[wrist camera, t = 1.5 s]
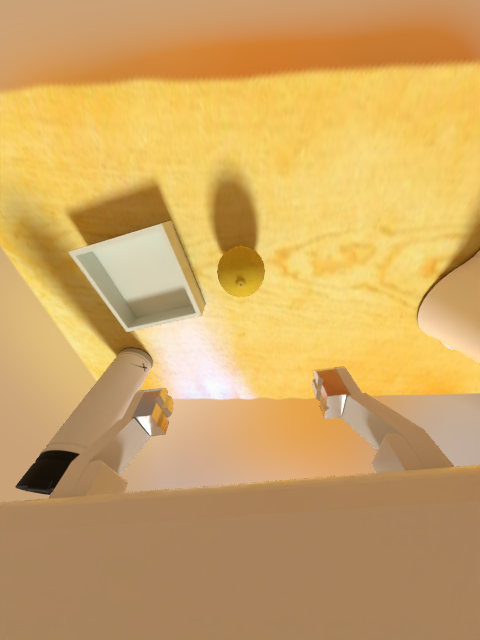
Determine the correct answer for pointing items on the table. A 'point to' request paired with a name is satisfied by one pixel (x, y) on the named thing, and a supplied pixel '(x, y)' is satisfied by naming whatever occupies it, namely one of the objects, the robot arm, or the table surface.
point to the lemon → (241, 271)
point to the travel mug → (89, 419)
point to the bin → (143, 277)
